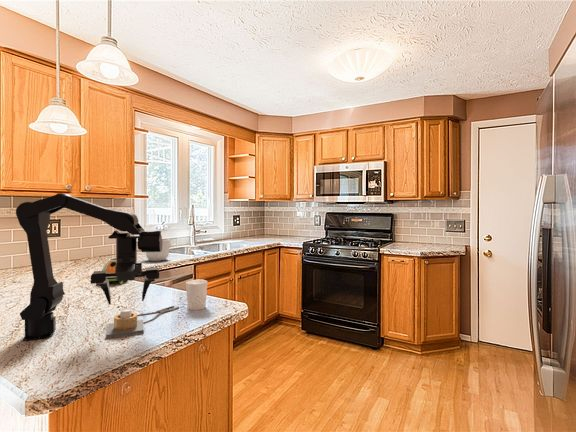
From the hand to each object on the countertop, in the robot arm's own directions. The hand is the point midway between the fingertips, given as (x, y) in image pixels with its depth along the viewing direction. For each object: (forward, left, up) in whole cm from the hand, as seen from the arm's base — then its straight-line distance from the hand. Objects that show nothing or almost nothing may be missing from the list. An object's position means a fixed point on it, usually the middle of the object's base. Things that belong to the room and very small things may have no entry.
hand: (126, 302), depth 100 cm
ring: (0, 0, -8) cm, 8 cm away
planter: (+16, +139, -9) cm, 141 cm away
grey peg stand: (0, 0, -9) cm, 9 cm away
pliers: (+8, +13, -9) cm, 18 cm away
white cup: (+24, +15, -9) cm, 30 cm away
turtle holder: (-7, +76, -9) cm, 77 cm away
